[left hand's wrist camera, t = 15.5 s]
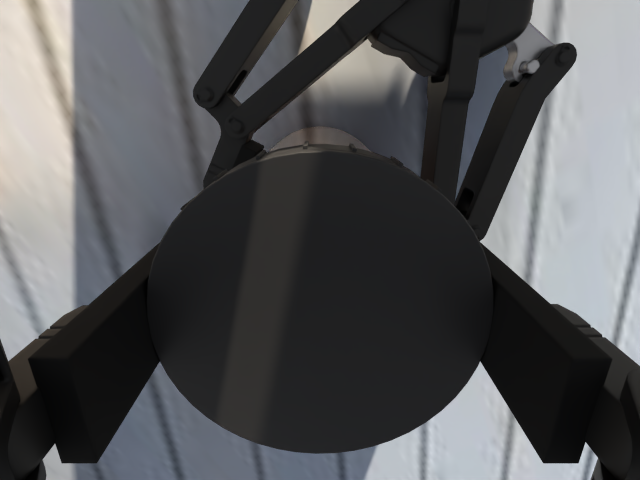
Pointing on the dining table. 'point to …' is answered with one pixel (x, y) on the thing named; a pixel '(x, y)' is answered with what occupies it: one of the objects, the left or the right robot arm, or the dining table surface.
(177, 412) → the dining table surface
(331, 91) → the dining table surface
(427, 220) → the lid
